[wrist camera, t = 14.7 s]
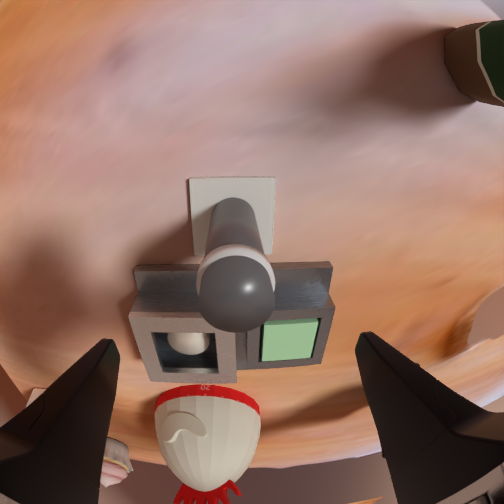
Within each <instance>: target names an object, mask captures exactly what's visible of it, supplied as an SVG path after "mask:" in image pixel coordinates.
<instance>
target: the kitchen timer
mask: <svg viewBox="0 0 504 504" xmlns="http://www.w3.org/2000/svg"><path fill="white" fill-rule="evenodd" d="M155 428H156V434H157V438H158V443H159V447H160V450H161V453H162V456H163V458H164V460H165V461H166V463H167V465H168V466H169V468H170V470H172V472H173V473H174V474H175V475H176V476H177V477H178V478H179V479H180V480H181V481H182V482H183V484H182V486H181V488H180V490H179V491H178V493H177V495H176V497H175V500H174V503H175V504H179V503H180V502H181V501H182V500H183V499H184V504H193V503H194V501H195V500H196V504H206V502H207V501H208V504H218V501H219V498H220V500H221V501H222V502H223V504H230V503H229V500H228V497H227V489H229V488H231V489H232V490H233V491H234V492H235V494H237V495H238V496H241V493H240V491H239V489H238V488H237V486H236V485H235V483H234V482H236V481H237V480H238V479H239V478H240V477H241V475H242V474H243V473H244V472H245V470H246V469H247V468H248V466H249V464H250V463H251V461H252V459H253V457H254V454H255V451H256V447H257V444H258V440H259V435H260V428H261V421H260V412H259V406H258V404H257V403H256V402H255V400H254V399H252V398H251V397H249V396H248V395H246V394H245V393H242V392H239V391H237V390H234V389H231V388H226V387H221V386H216V385H188V386H180V387H177V388H174V389H170V390H168V391H166V392H165V393H163V394H162V395H160V397H159V398H158V400H157V402H156V407H155Z"/></svg>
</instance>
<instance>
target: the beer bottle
mask: <svg viewBox="0 0 504 504" xmlns="http://www.w3.org/2000/svg"><path fill="white" fill-rule="evenodd" d="M444 44H445V65H446V67H447V68H448V70H449V72H450V74H451V76H452V78H453V79H454V81H455V83H456V85H457V87H458V89H459V91H461V92H463V93H465V94H466V95H468V96H470V97H472V98H474V99H476V100H477V101H479V102H483V103H487V104H491V105H497V106H503V107H504V20H498V21H489V22H481V23H474V24H469V25H465V26H462V27H459V28H457V29H456V30H454V31H452V32H451V33H449V34H447V35H446V36H445V37H444Z"/></svg>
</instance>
